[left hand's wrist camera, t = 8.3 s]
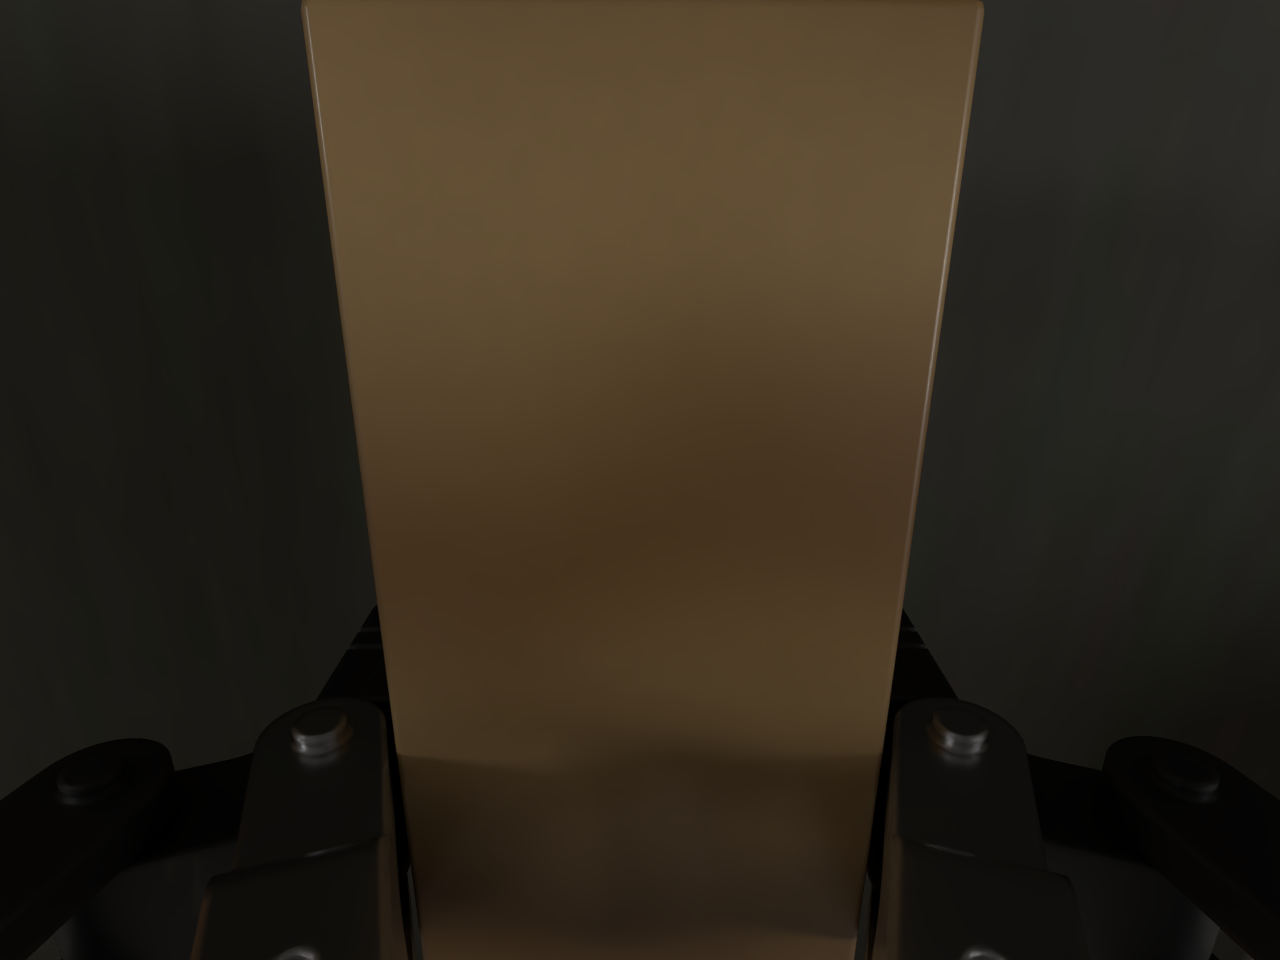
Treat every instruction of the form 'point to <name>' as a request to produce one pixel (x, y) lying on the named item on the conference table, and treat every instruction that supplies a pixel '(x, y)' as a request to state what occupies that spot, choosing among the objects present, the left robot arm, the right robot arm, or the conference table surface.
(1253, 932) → the left robot arm
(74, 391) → the conference table surface
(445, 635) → the post
